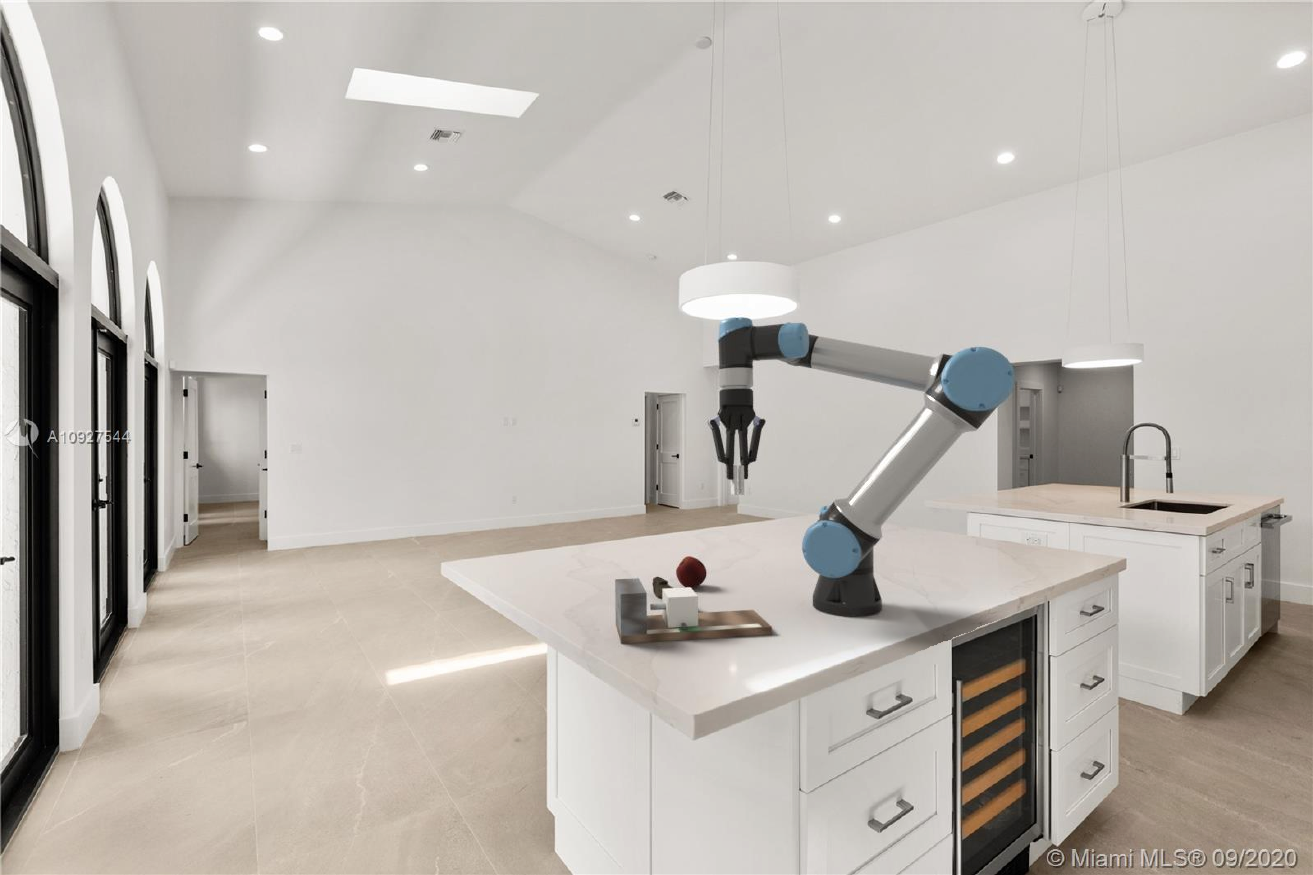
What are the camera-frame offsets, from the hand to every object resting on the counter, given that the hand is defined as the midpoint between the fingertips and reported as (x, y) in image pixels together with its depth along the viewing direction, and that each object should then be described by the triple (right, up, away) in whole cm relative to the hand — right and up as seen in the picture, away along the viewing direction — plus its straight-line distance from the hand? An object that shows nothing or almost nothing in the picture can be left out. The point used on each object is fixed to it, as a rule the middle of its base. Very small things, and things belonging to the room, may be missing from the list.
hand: (737, 494), depth 140 cm
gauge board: (-11, -27, -12) cm, 31 cm away
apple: (-9, -26, +22) cm, 35 cm away
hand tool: (-15, -27, +8) cm, 32 cm away
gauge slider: (-15, -25, -14) cm, 32 cm away
